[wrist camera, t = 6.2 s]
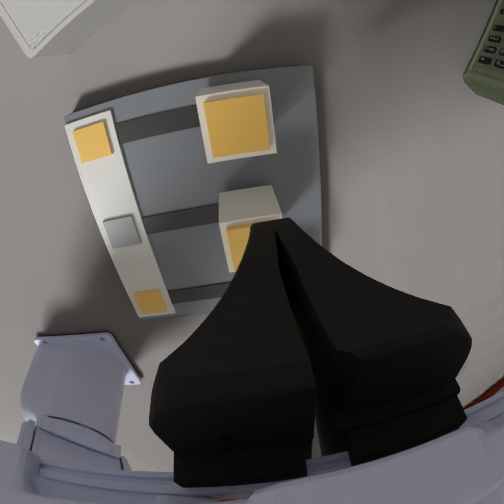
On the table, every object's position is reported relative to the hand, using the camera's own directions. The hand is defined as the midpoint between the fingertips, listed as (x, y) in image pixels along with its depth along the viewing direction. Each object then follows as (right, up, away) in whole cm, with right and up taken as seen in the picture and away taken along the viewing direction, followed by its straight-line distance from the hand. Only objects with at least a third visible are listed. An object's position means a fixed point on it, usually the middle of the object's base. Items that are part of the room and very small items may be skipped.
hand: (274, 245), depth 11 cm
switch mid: (-1, +2, +8) cm, 8 cm away
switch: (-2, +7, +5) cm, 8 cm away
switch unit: (-4, +3, +9) cm, 10 cm away
